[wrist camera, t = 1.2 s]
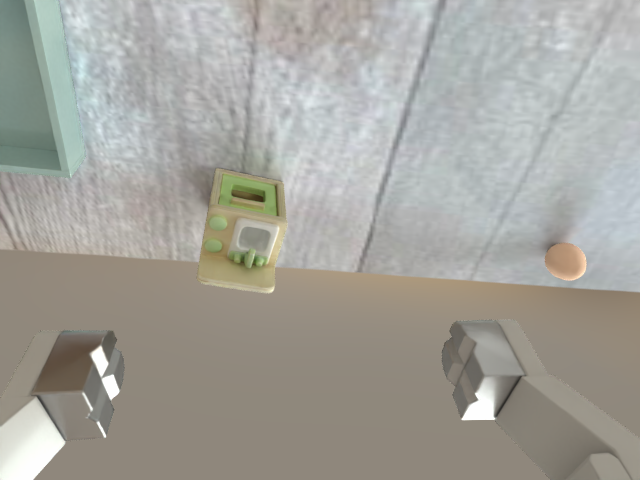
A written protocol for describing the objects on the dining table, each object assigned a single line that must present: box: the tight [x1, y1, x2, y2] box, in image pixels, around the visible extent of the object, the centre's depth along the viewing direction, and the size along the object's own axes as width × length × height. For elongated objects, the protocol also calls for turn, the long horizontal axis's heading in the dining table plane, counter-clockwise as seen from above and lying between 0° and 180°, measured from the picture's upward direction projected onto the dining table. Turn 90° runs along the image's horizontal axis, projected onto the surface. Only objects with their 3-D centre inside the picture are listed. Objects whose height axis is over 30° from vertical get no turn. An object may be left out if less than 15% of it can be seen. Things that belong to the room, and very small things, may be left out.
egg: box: [545, 243, 586, 280], centre depth 62 cm, size 5×5×6 cm
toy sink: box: [197, 168, 287, 293], centre depth 49 cm, size 9×7×13 cm
